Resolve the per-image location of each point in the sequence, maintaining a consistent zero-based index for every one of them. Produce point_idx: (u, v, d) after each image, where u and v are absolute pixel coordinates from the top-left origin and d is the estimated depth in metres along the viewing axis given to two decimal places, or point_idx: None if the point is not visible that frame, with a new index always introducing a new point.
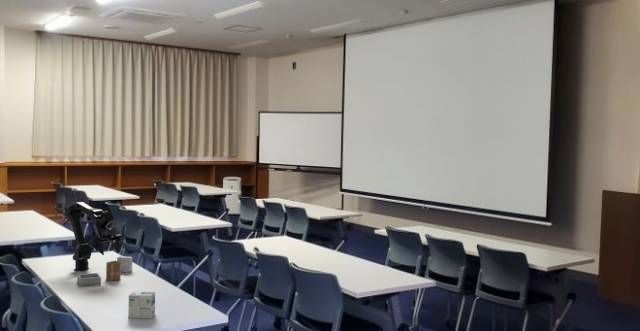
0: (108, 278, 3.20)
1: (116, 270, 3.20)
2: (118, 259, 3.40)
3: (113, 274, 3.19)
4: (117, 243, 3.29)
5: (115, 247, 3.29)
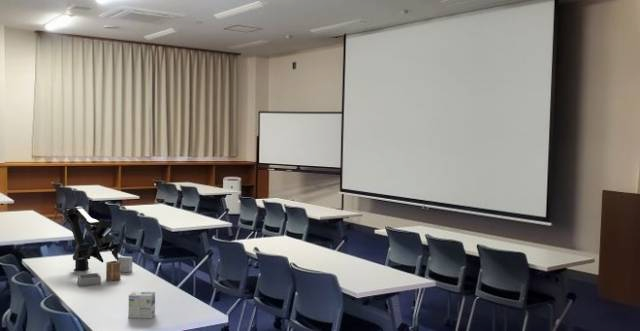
0: (108, 278, 3.20)
1: (116, 270, 3.20)
2: (118, 259, 3.40)
3: (113, 274, 3.19)
4: (116, 251, 3.29)
5: (114, 255, 3.29)
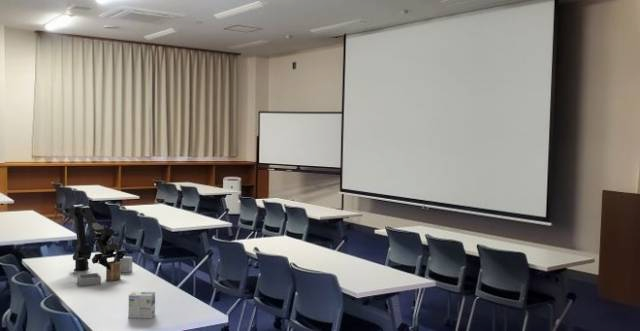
0: (108, 278, 3.20)
1: (116, 270, 3.20)
2: None
3: (113, 274, 3.19)
4: (118, 258, 3.25)
5: None
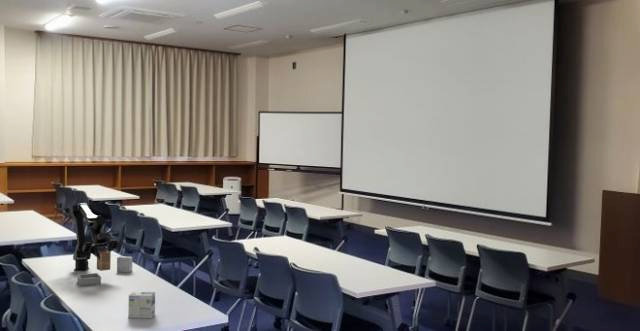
0: (98, 267, 3.16)
1: (105, 260, 3.15)
2: (118, 259, 3.40)
3: (102, 263, 3.14)
4: (109, 248, 3.20)
5: None
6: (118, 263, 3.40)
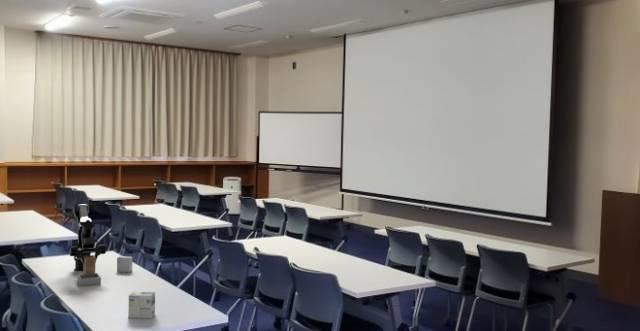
0: (83, 272, 3.12)
1: (90, 265, 3.10)
2: (118, 259, 3.40)
3: (86, 269, 3.09)
4: (96, 253, 3.15)
5: None
6: (118, 263, 3.40)
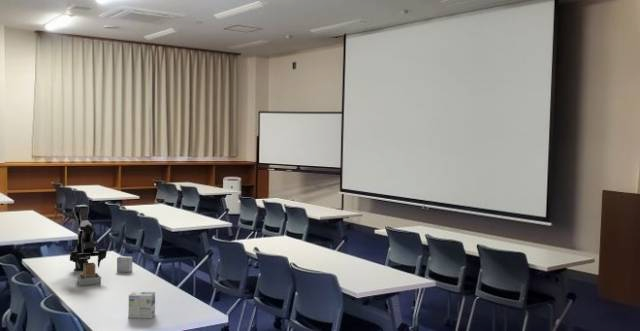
0: None
1: (90, 272, 3.10)
2: (118, 259, 3.40)
3: (86, 276, 3.10)
4: (99, 258, 3.16)
5: (98, 262, 3.16)
6: (118, 263, 3.40)
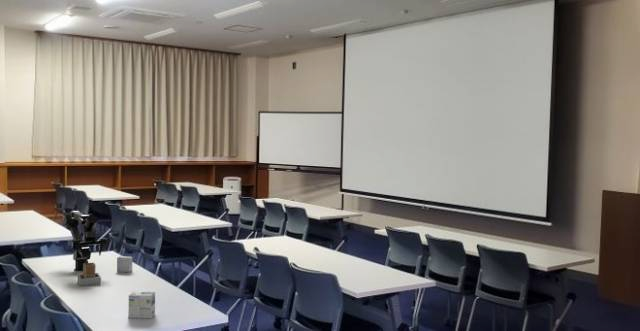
0: None
1: (90, 272, 3.10)
2: (118, 259, 3.40)
3: (86, 276, 3.10)
4: (100, 246, 3.28)
5: (99, 250, 3.28)
6: (118, 263, 3.40)
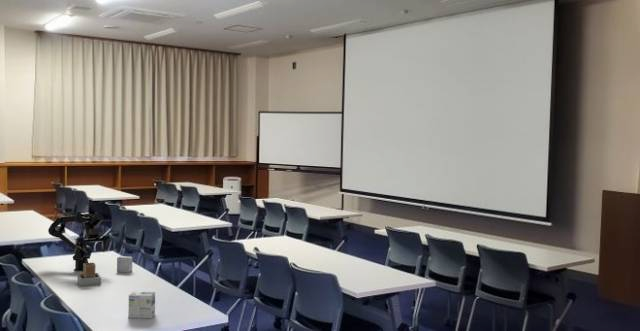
0: None
1: (90, 272, 3.10)
2: (118, 259, 3.40)
3: (86, 276, 3.10)
4: (104, 243, 3.34)
5: (102, 247, 3.34)
6: (118, 263, 3.40)
